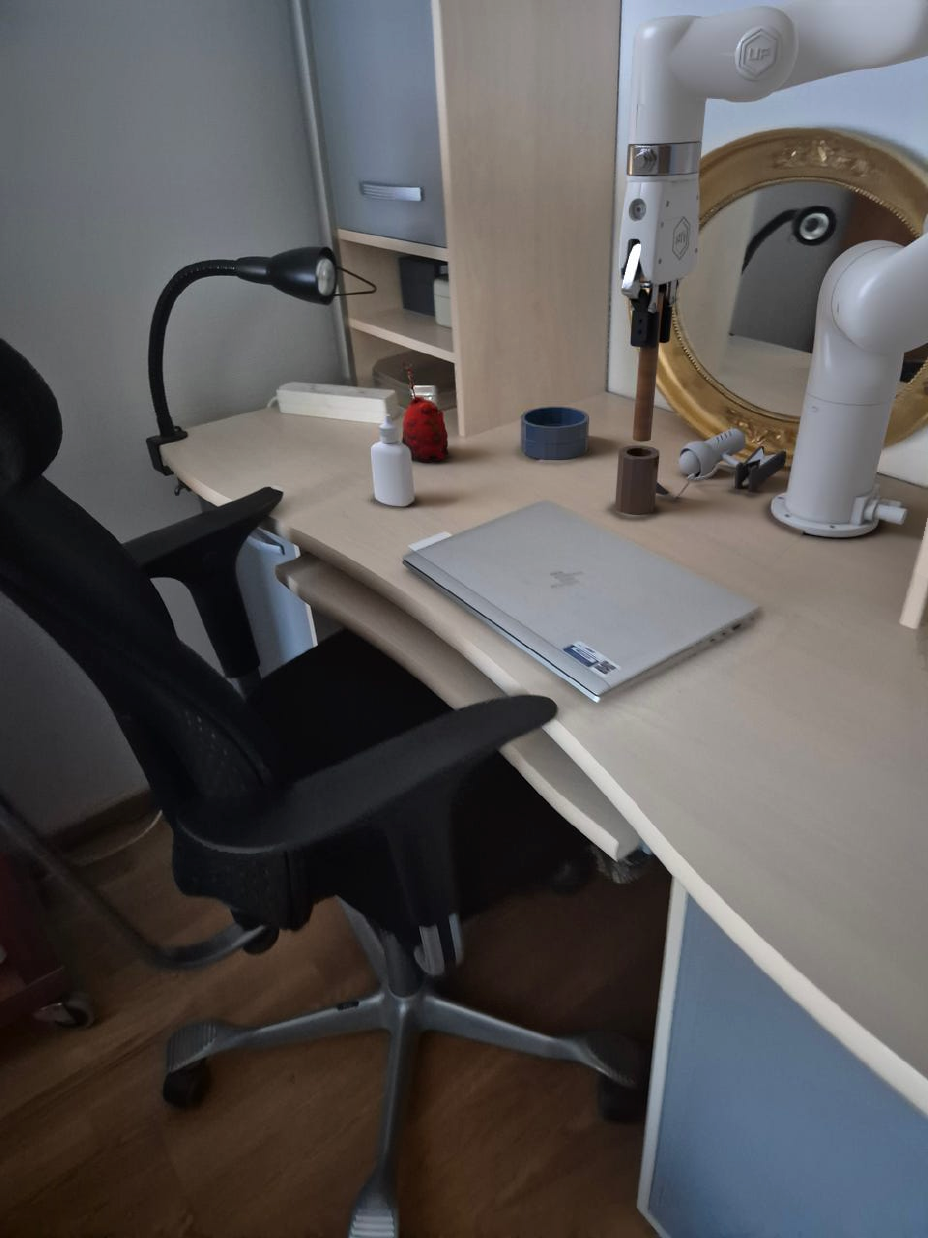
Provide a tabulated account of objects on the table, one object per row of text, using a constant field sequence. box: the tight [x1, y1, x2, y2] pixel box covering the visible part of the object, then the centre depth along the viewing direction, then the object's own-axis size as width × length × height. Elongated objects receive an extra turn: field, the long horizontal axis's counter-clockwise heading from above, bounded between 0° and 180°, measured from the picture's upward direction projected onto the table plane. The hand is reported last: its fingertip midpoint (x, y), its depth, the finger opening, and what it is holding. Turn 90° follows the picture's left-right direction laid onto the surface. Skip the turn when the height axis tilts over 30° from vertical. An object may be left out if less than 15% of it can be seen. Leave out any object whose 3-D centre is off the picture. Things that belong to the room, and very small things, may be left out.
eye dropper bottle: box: [370, 413, 415, 507], centre depth 108 cm, size 4×6×12 cm
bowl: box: [520, 405, 590, 461], centre depth 123 cm, size 10×10×6 cm
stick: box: [632, 291, 664, 443], centre depth 96 cm, size 2×2×17 cm
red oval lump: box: [400, 360, 449, 463], centre depth 121 cm, size 8×7×15 cm
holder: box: [614, 444, 660, 516], centre depth 103 cm, size 5×5×8 cm
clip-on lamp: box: [656, 427, 787, 498], centre depth 110 cm, size 12×6×18 cm
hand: (649, 342), depth 94 cm, fingers closed on stick, 2 cm apart
